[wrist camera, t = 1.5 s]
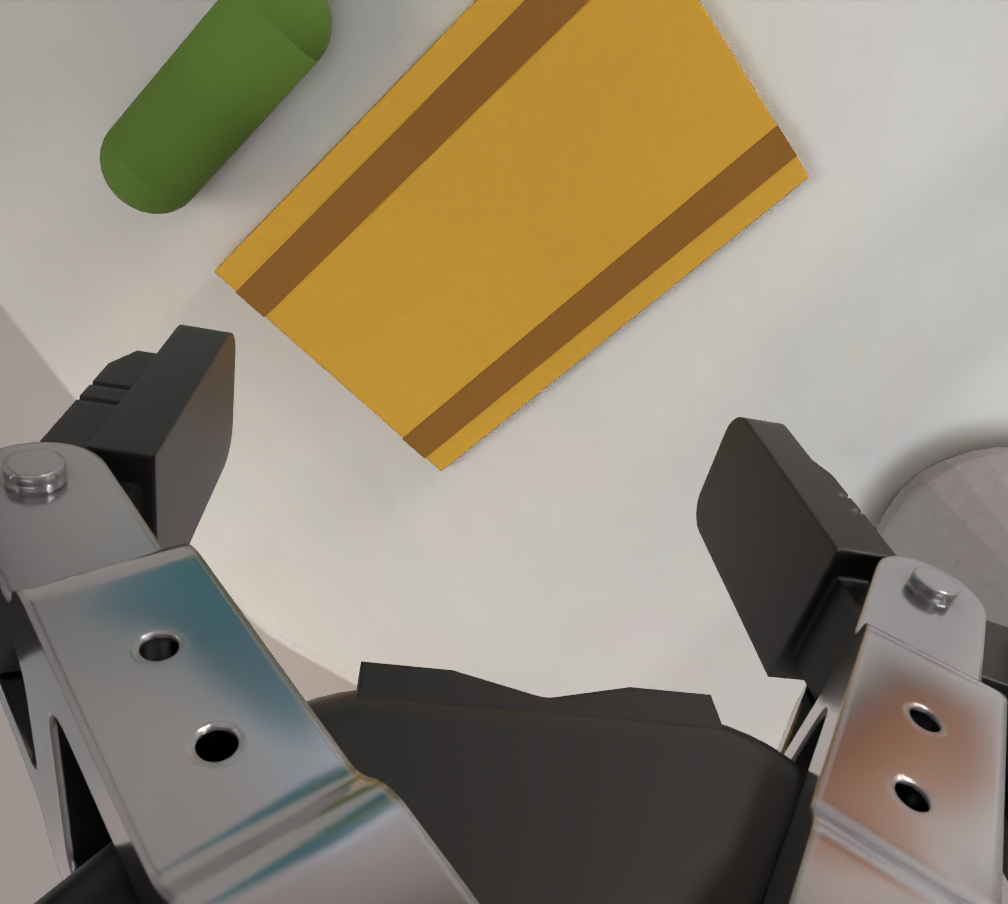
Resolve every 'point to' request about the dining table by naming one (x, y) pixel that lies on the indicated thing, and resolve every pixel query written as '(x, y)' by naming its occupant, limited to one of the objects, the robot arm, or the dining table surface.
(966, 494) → the coffee pot
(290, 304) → the towel
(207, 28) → the pickle
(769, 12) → the dining table surface
